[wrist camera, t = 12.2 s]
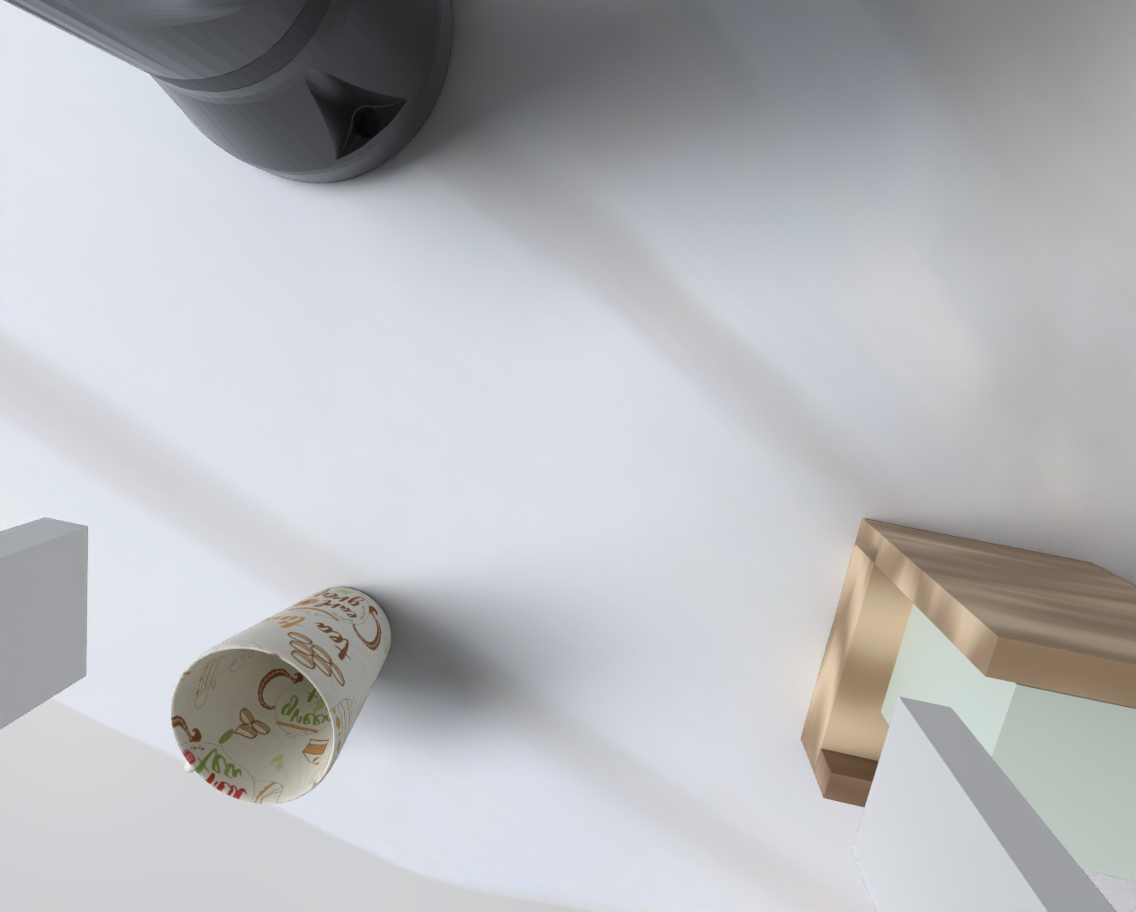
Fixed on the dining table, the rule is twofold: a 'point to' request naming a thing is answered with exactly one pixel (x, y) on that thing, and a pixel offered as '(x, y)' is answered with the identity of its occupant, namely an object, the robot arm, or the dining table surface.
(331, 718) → the mug
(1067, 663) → the wooden stand
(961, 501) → the dining table surface
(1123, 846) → the cabinet block
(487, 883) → the dining table surface
